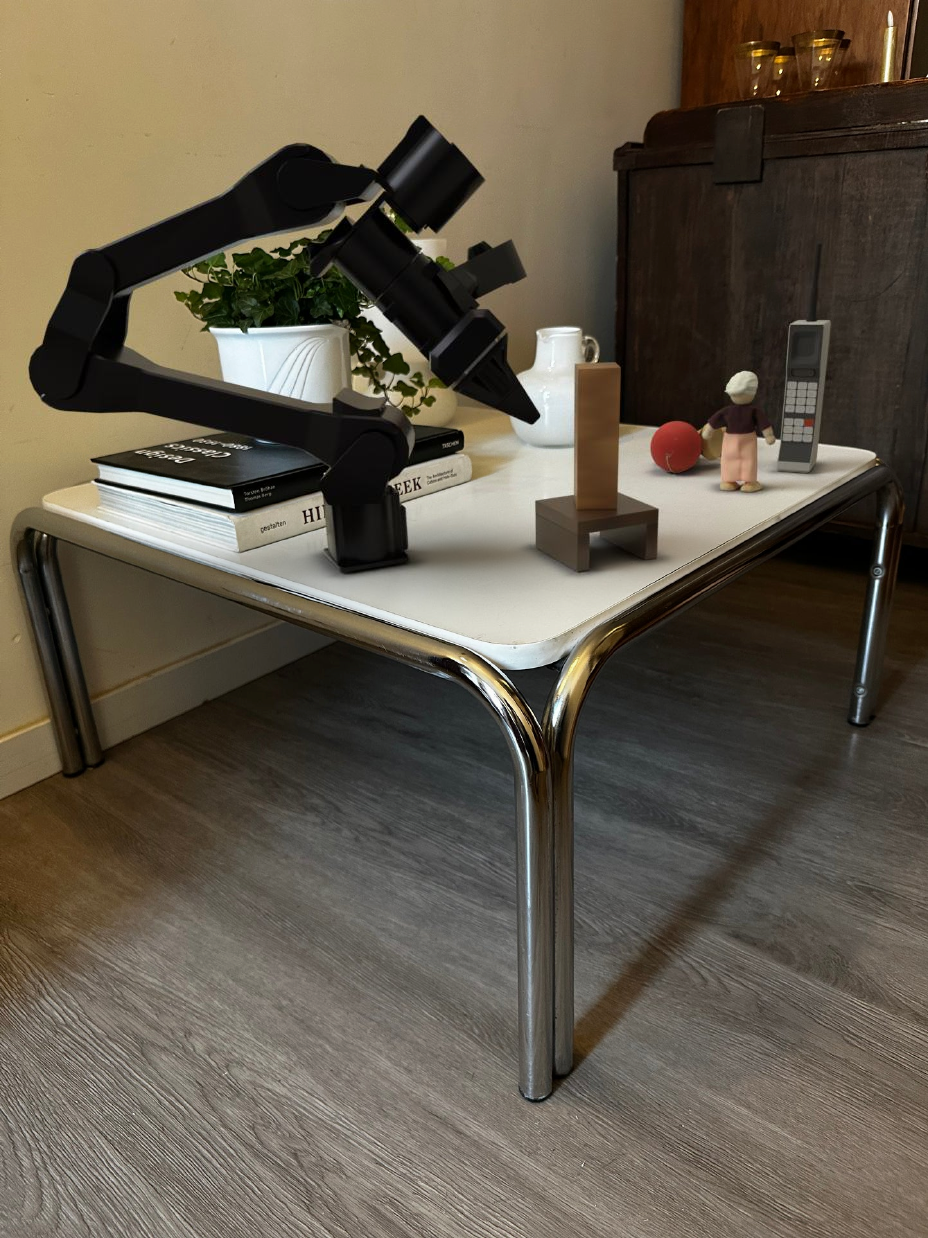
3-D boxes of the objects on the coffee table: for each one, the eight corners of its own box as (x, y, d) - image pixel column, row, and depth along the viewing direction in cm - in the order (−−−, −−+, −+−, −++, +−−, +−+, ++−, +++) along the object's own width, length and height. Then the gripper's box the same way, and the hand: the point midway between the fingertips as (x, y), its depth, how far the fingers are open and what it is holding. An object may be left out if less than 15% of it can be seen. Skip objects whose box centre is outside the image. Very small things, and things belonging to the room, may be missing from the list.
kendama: (690, 455, 125) (628, 463, 111) (703, 408, 123) (642, 410, 109) (743, 471, 121) (686, 482, 107) (758, 423, 119) (702, 428, 105)
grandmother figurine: (770, 484, 104) (780, 368, 99) (771, 493, 100) (781, 373, 96) (700, 482, 106) (706, 368, 101) (698, 491, 103) (705, 373, 98)
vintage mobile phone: (776, 471, 110) (796, 243, 100) (784, 462, 114) (804, 242, 104) (809, 473, 108) (833, 242, 98) (816, 464, 112) (839, 241, 103)
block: (577, 510, 81) (578, 368, 76) (573, 499, 84) (574, 363, 79) (617, 508, 81) (620, 367, 76) (612, 498, 84) (615, 361, 79)
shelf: (577, 572, 79) (577, 521, 77) (535, 547, 86) (534, 500, 84) (657, 558, 82) (659, 508, 80) (610, 534, 89) (611, 488, 87)
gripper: (475, 188, 65) (622, 350, 70) (460, 212, 83) (578, 340, 87) (367, 307, 67) (516, 457, 72) (375, 306, 85) (494, 426, 89)
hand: (529, 414), depth 80 cm, fingers open, 9 cm apart
